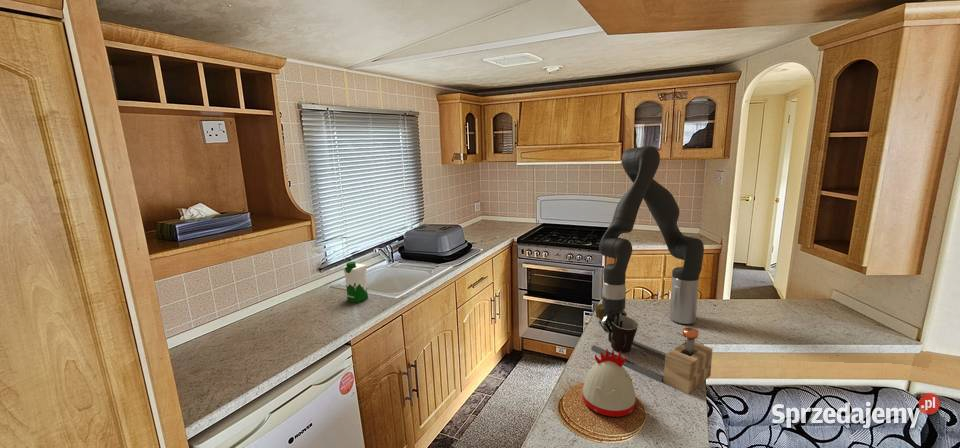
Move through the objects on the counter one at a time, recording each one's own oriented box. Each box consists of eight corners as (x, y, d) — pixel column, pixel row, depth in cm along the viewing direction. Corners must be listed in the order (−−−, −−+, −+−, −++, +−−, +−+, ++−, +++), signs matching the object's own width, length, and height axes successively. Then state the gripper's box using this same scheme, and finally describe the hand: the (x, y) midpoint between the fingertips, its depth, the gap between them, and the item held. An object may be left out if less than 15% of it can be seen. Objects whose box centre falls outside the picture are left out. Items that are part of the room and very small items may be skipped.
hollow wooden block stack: (686, 366, 124) (688, 340, 122) (710, 376, 118) (712, 348, 117) (663, 382, 116) (665, 354, 114) (687, 394, 110) (689, 364, 108)
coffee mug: (613, 336, 142) (616, 312, 139) (637, 346, 137) (641, 321, 133) (600, 352, 133) (603, 327, 130) (625, 363, 128) (629, 337, 125)
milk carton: (344, 304, 185) (340, 263, 181) (359, 297, 193) (355, 258, 189) (357, 307, 180) (353, 265, 177) (372, 300, 188) (368, 260, 184)
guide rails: (616, 337, 144) (616, 333, 144) (685, 365, 124) (685, 361, 124) (591, 350, 135) (591, 346, 135) (661, 382, 116) (661, 377, 116)
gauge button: (684, 356, 119) (687, 326, 117) (698, 361, 115) (701, 330, 114) (678, 360, 116) (680, 330, 115) (692, 366, 113) (694, 334, 111)
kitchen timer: (635, 421, 100) (637, 367, 97) (579, 409, 105) (580, 358, 102) (635, 390, 113) (637, 341, 110) (585, 381, 118) (586, 334, 115)
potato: (630, 326, 153) (631, 307, 151) (597, 327, 153) (597, 307, 152) (624, 318, 161) (624, 299, 159) (592, 318, 161) (592, 299, 160)
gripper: (616, 287, 141) (614, 332, 144) (592, 296, 133) (591, 343, 136) (635, 293, 135) (633, 340, 138) (611, 302, 127) (610, 352, 130)
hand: (612, 341), depth 137 cm, fingers closed
